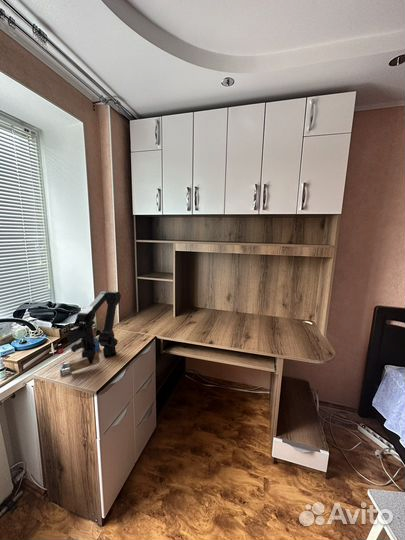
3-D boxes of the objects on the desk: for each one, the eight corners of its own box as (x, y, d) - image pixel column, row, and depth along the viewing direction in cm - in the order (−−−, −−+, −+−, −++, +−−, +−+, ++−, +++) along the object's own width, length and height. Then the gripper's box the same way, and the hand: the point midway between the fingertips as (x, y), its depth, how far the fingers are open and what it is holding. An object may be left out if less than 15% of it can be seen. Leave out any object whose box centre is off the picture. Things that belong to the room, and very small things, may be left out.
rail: (99, 359, 126) (97, 352, 126) (99, 362, 123) (97, 355, 122) (71, 368, 121) (69, 360, 120) (70, 372, 117) (68, 364, 116)
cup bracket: (72, 366, 127) (72, 361, 127) (71, 373, 120) (70, 367, 120) (62, 368, 125) (61, 363, 125) (60, 376, 118) (59, 370, 118)
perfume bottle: (85, 351, 144) (83, 334, 142) (94, 347, 149) (92, 330, 148) (91, 354, 141) (88, 335, 139) (100, 349, 146) (97, 332, 144)
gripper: (72, 331, 126) (75, 358, 128) (68, 345, 109) (72, 374, 111) (94, 327, 130) (97, 352, 132) (93, 339, 114) (97, 368, 116)
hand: (91, 361), depth 123 cm, fingers closed on rail, 4 cm apart
